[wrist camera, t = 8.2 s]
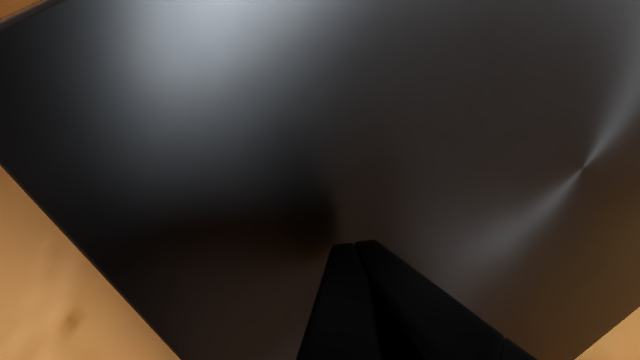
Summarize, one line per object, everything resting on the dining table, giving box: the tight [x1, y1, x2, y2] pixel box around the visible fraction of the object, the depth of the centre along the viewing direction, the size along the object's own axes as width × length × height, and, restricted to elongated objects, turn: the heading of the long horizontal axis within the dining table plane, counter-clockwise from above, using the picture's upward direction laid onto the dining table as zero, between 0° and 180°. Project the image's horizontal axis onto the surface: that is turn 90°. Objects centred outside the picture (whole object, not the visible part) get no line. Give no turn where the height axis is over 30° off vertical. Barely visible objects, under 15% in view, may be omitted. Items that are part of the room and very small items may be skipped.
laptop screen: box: [0, 0, 640, 360], centre depth 13 cm, size 17×21×1 cm
